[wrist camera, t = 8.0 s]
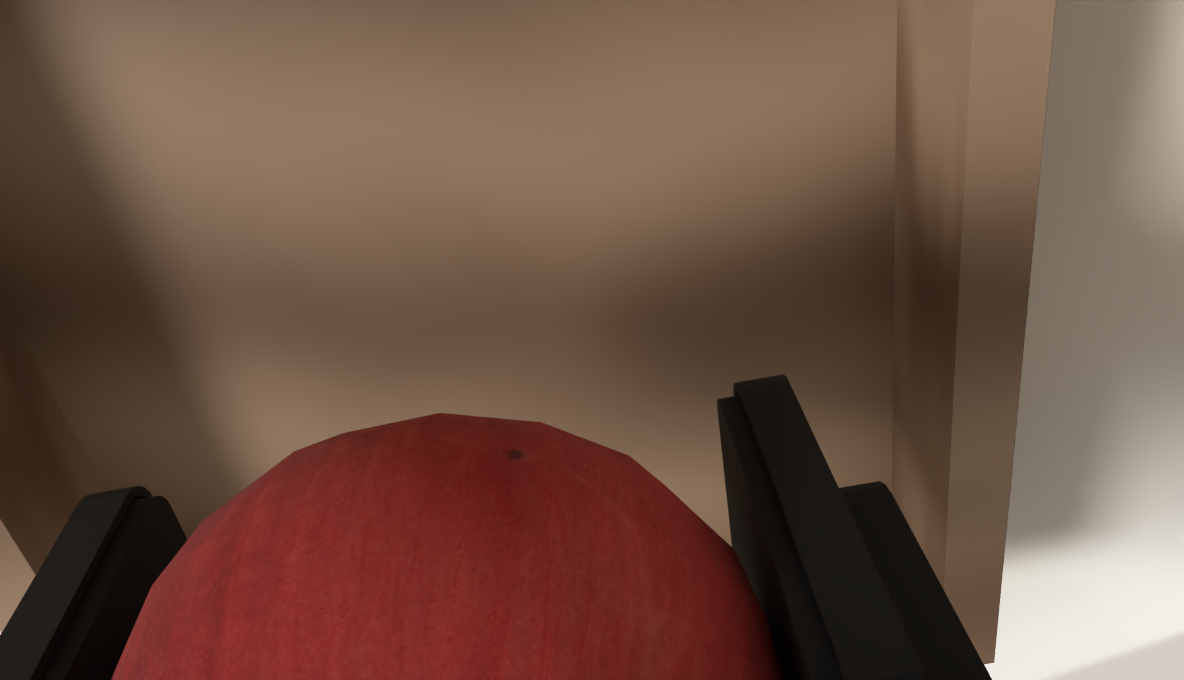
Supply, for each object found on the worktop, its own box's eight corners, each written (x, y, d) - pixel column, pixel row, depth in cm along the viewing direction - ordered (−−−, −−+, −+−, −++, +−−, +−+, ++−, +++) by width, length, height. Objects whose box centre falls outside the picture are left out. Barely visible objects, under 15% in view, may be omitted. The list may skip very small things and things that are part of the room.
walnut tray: (-289, -181, 12) (-543, -166, 9) (950, -406, 12) (1099, -463, 9) (179, 661, 21) (125, 814, 18) (921, 530, 20) (994, 662, 17)
